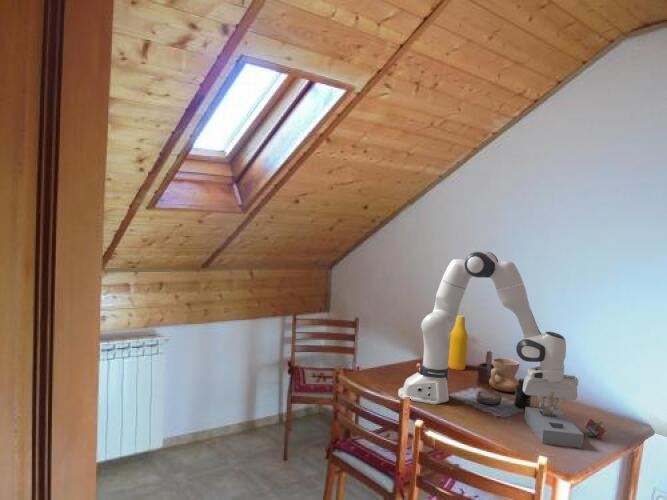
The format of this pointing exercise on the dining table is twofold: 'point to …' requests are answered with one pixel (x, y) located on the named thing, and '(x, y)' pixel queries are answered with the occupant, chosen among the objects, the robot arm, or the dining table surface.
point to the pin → (548, 405)
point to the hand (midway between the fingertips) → (548, 407)
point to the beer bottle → (458, 345)
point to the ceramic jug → (504, 374)
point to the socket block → (553, 428)
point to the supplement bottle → (521, 396)
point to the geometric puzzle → (595, 429)
